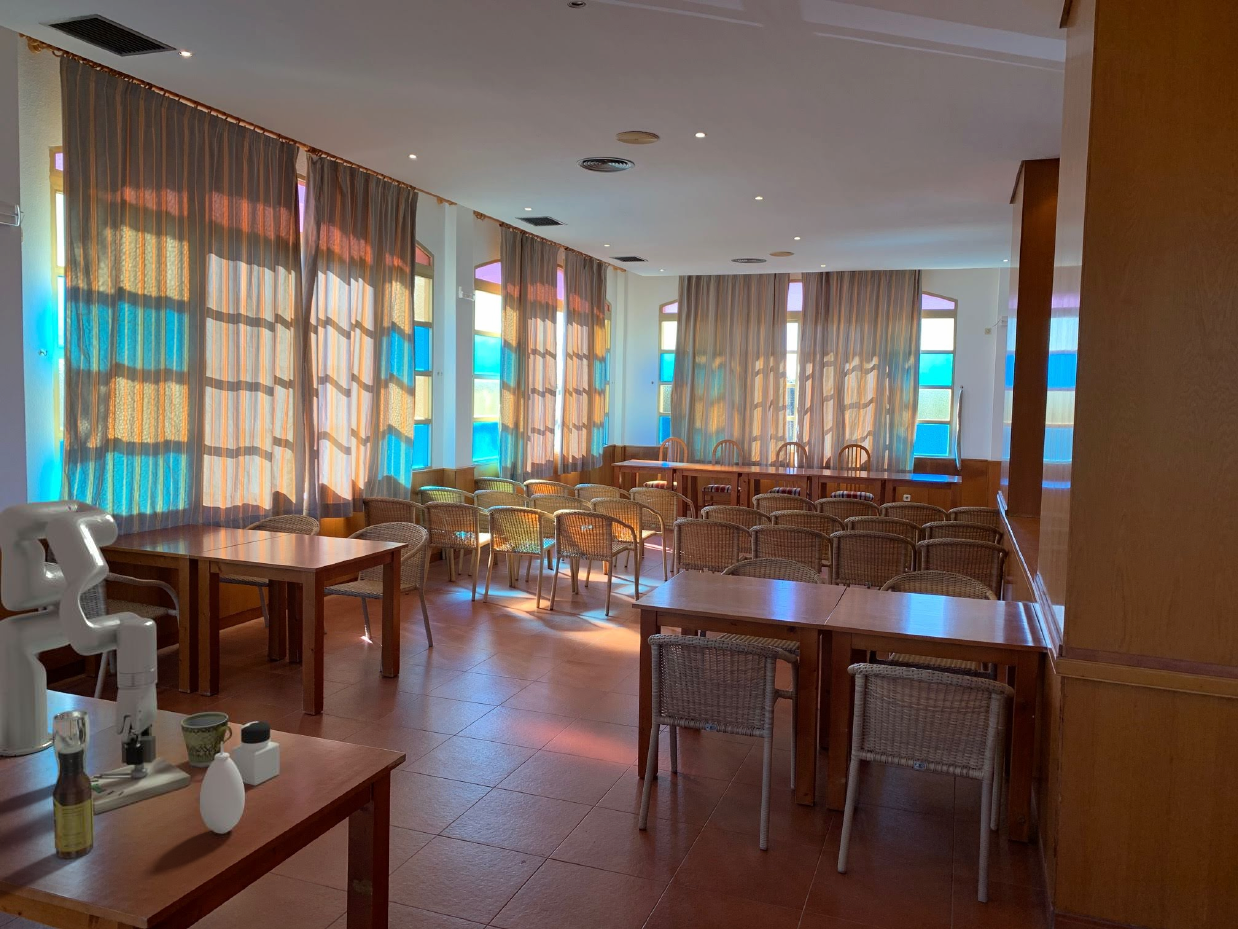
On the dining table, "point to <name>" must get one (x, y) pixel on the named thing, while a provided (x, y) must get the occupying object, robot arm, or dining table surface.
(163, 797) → the dining table surface
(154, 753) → the grey block on stem
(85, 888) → the dining table surface
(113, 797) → the tuner board
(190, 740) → the ceramic cup
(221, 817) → the white air blower bulb
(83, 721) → the beer glass
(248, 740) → the medicine bottle
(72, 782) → the sauce bottle
